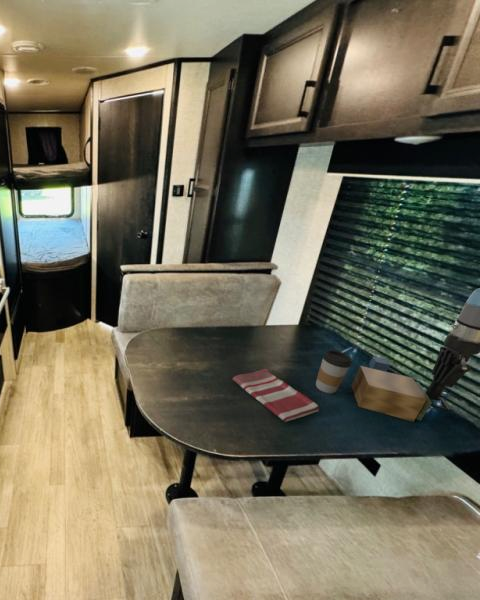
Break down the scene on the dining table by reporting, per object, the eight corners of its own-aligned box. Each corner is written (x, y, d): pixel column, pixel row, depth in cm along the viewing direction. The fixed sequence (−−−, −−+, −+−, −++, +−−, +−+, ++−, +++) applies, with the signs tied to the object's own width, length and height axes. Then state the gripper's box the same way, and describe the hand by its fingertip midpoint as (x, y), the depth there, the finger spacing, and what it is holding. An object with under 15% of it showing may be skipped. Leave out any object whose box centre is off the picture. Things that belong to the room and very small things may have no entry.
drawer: (434, 405, 110) (444, 388, 107) (448, 428, 101) (461, 409, 98) (361, 387, 119) (369, 370, 116) (369, 406, 110) (377, 388, 107)
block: (382, 368, 131) (387, 359, 129) (386, 374, 128) (390, 364, 126) (368, 364, 133) (372, 355, 131) (371, 370, 130) (375, 361, 128)
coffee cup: (314, 378, 125) (327, 346, 119) (340, 388, 120) (355, 355, 113) (309, 388, 120) (322, 355, 114) (336, 399, 114) (351, 365, 108)
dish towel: (263, 371, 129) (265, 366, 128) (319, 411, 109) (322, 405, 108) (231, 380, 124) (232, 375, 123) (283, 424, 104) (285, 418, 103)
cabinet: (401, 398, 114) (412, 377, 110) (413, 421, 104) (426, 399, 100) (351, 386, 121) (360, 365, 117) (358, 406, 111) (368, 385, 107)
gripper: (440, 325, 102) (408, 382, 112) (460, 344, 92) (422, 405, 101) (473, 331, 99) (437, 389, 109) (497, 351, 88) (455, 414, 98)
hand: (430, 397), depth 105 cm, fingers closed
